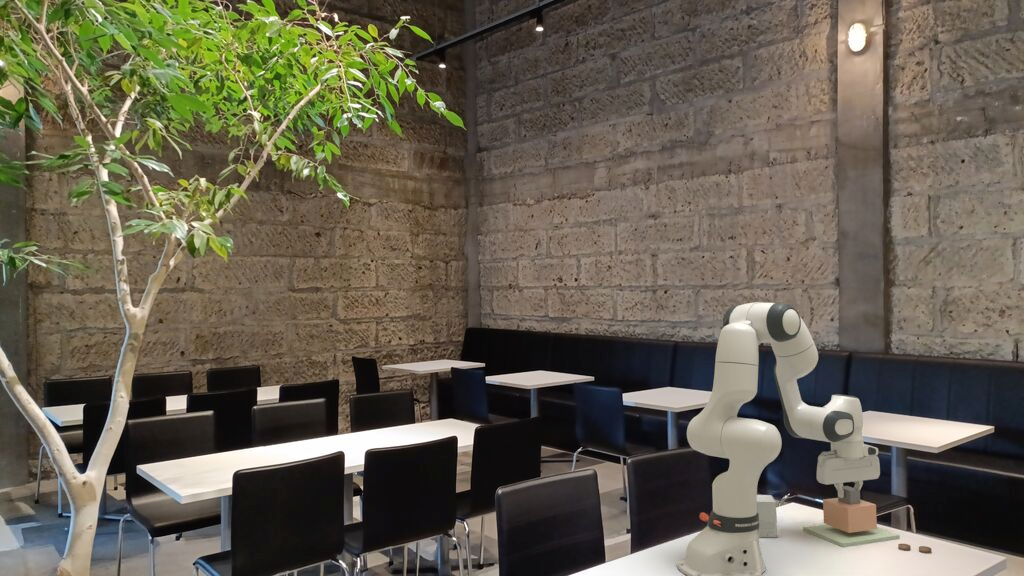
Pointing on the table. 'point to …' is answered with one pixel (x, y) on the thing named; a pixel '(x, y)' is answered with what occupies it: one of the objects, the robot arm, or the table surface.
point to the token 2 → (925, 549)
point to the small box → (767, 516)
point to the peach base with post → (850, 512)
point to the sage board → (850, 535)
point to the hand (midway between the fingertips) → (848, 496)
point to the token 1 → (904, 547)
